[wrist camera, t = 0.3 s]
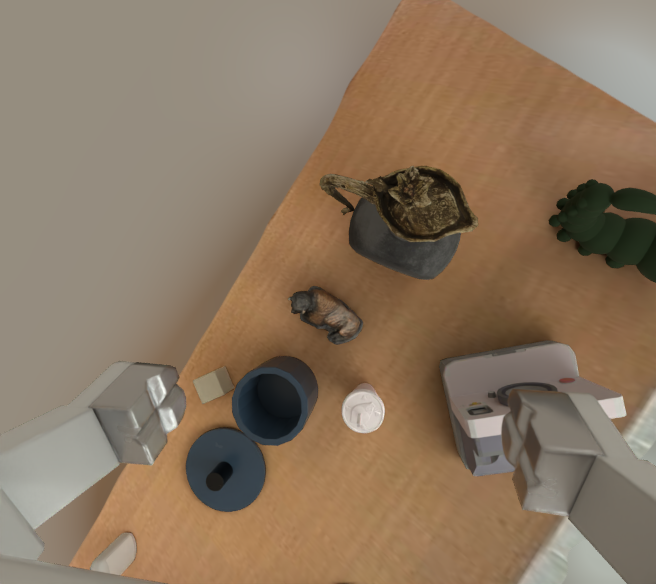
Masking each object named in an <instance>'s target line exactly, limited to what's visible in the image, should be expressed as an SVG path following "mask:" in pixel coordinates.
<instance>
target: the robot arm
mask: <svg viewBox="0 0 656 584" xmlns="http://www.w3.org/2000/svg"><path fill="white" fill-rule="evenodd" d="M178 379H179V375H178V372H177V370H176V368H175V367H173V366H170V365H161V364H150V363H139V362H136V363H134V362H125V361H119V362H115V363H113V364H112V365H110V367H108V368H107V369H106V370H105V371H104V372H103V373H102V374H101V375H100V376H99V377H98V378H97V379H96V380H94V381H93V382H92V383H91V384H90V385H89V386H88V387H87V388H86V389H85V390H84V391H83V392H82V393H80V395H78V396H77V397H76V398H75V399H74V400H73V401H72V402H71V403H70V404H69V405H68V406H60V407H57V408H55V409H53V410H51V411H49V412H47V413H45V414H43V415H41V416H38V417H36V418H34V419H32V420H30V421H28V422H26V423H24V424H22V425H20V426H18V427H15V428H13V429H11V430H9V431H7V432H5V433H3V434H1V435H0V584H166V583H160V582H155V581H149V580H144V579H138V578H132V577H127V576H121V575H115V574H110V573H104V572H98V571H93V570H87V569H81V568H76V567H70V566H64V565H59V564H53V563H48V562H42V561H36V560H37V558H38V557H39V556H40V554H41V553H42V552H43V551H44V542H43V541H42V540H41V538H40V537H39V536H38V534H37V533H36V532H35V531H34V530H35V529H36V528H37V527H39V526H40V525H41V524H43V523H44V522H45V521H46V520H48V519H49V518H50V517H52V516H53V515H54V514H56V513H57V512H58V511H60V510H61V509H62V508H64V507H65V506H66V505H67V504H68V503H70V502H71V501H73V500H74V499H75V498H77V497H78V496H79V495H80V494H82V493H83V492H84V491H86V490H87V489H88V488H90V487H91V486H92V485H94V484H95V483H96V482H98V481H99V480H100V479H101V478H103V477H104V476H105V475H107V474H108V473H109V472H111V471H112V470H113V469H115V468H116V467H117V466H118V465H120V463H132V464H143V465H152V464H153V463H154V461H155V460H156V458H157V457H158V455H159V454H160V452H161V451H162V449H163V448H164V446H165V445H166V443H167V433H169V432H170V431H172V430H173V429H175V428H177V426H178V425H179V423H180V422H181V420H182V418H183V416H184V412H185V409H186V396H185V393H184V390H183V389H181V388H180V387H179V386H178V385H177V384H176V383H177V381H178ZM507 403H508V405H509V408H510V412H509V413H507V414H506V415H505V416H503V421H502V426H501V441H502V446H503V451H504V454H505V458H506V460H507V461H508V462H509V463H510V464H511V465H512V466H513V467H514V468H515V471H514V474H513V478H512V480H513V483H514V486H515V489H516V492H517V495H518V498H519V501H520V504H521V507H522V510H529V511H536V512H543V513H550V514H556V515H563V516H569V517H568V519H569V520H570V521H571V522H572V523H573V524H574V526H575V527H576V528H577V529H578V530H579V531H580V532H581V533H582V534H583V536H584V537H585V538H586V539H587V540H588V541H589V542H590V543H591V544H592V545H593V547H595V549H596V550H597V551H598V552H599V553H600V554H601V555H602V557H603V558H604V559H605V560H606V561H607V562H608V563H609V564H610V565H611V566H612V568H613V569H614V570H615V571H616V572H617V573H618V574H619V575H620V576H621V577H622V579H623V580H624V581H625V582H626V583H627V584H656V466H655V465H653V464H651V463H650V462H649V461H647V460H638V458H637V457H636V455H635V454H634V453H633V451H632V450H631V448H630V447H629V445H628V444H627V443H626V441H625V440H624V438H623V437H622V435H621V434H620V433H619V431H618V430H617V428H616V427H615V425H614V424H613V423H612V421H611V420H610V418H609V417H608V415H607V414H606V412H605V411H604V410H603V408H602V407H601V405H600V404H599V402H598V401H597V400H596V398H595V397H594V396H593V395H591V394H590V393H581V392H556V391H540V390H524V389H512V391H511V392H510V393H509V397H508V401H507ZM119 462H120V463H119Z"/></svg>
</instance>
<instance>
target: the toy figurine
mask: <svg viewBox="0 0 656 584" xmlns="http://www.w3.org/2000/svg"><path fill="white" fill-rule="evenodd" d="M567 198H568V199H567ZM567 198H562V199H560V200H559V201H558V202H557V205H556V206H557V208H558V209H560V210H561V211H560V213H559V214H558V215H553V216H551V218H550V219H549V224H550V225H551V226H553V227H558V226H559V225H560V224H561V226H562V227H563V228H564V229H562V230H559V231H558V233H557V239H558V240H559V241H562V242H566V241H569V240H570V239H571V238H572V239H573V240H576V241H579V244H580V246H579V248H578V252H579V253H580V254H581V255H583V256H588V255H590V254H591V253H595V254H607V257H606V263H607V265H609V266H610V267H611V268H620V267H623V266H624V265H636V266H637V268H638V269H639V271H640V272H641V273H642V274H643V275H644V276H645V277H646V278H648V279H649V280H651V281H653V282H655V283H656V223H654V222H653V221H650V220H648V219H643V218H629V219H623V218H622V217H620V216H619V215H617V214H613V213H605V212H604V211H605V209H607V208H608V207H609V206H610V205H611V204H612V205H613V206H614V207H616V208H617V209H620V210H625V211H634V212H641V213H647V214H655V215H656V195H654V194H652V193H650V192H647V191H645V190H640V189H636V188H625V189H621V190H618V191H616V192H615V193H614V191H613V189H612V188H611V187H610V186H609V185H607V184H603V183H598V182H597V181H596V180H593V179H591V180H589V181H587V183H583V184H580V185H579V186H578V187H577V189H575V190H571V191H569V192H568V194H567ZM569 199H570V200H569ZM603 212H604V213H603Z"/></svg>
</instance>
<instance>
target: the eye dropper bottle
mask: <svg viewBox="0 0 656 584" xmlns="http://www.w3.org/2000/svg"><path fill="white" fill-rule="evenodd" d="M135 556H136V541H135V538H134V536H133V534H132V533H122V534H121V535H119V536H118V537H117V538H116V539H115V540H114V541H113V542H112V543H111V544H110V545H109V546H108V547H107V548H106V549H105V550H104V551H103V552H102V553H101V554H100V555H99V556H98V557H97V558H96V559H95V560H94V561H93V562H92V565H91V567H90V570H93V571H98V572H104V573H110V574H115V575H121V574H122V573H123V572H124V571H125V570H126V569H127V568H128V567H129V565H130V564H131V563H132V562H133V561H134V559H135Z"/></svg>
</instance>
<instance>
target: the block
mask: <svg viewBox="0 0 656 584" xmlns="http://www.w3.org/2000/svg"><path fill="white" fill-rule="evenodd" d="M193 383H194V385H195V388H196V390H197V392H198V395H199V397H200V400H201V402H202V404H204V403H206V402H209V401H211V400H213V399H216V398H218V397H220V396H223V395H225V394H226V393H228V392H229V391H231V390H232V389H234V386H233V384H232V381H231V379H230V376H229V374H228V372H227V369H226V367H225V366H224V367H221V368H219V369H217V370H215V371H212V372H210V373H208V374H205V375H203V376H201V377H199V378H197V379H195V380H193Z"/></svg>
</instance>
